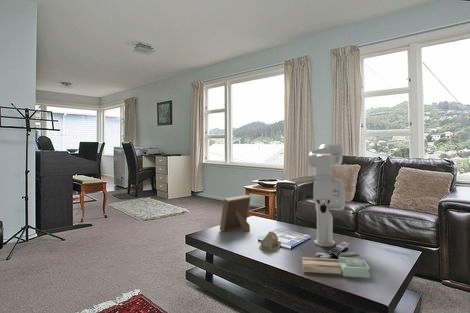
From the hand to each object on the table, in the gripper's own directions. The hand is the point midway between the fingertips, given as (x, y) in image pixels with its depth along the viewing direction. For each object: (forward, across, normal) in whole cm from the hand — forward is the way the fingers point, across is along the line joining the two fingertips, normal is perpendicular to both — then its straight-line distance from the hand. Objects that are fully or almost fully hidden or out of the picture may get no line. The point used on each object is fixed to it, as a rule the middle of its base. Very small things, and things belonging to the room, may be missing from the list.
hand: (323, 212), depth 147 cm
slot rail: (+27, +2, +8) cm, 28 cm away
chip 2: (+25, -15, +8) cm, 30 cm away
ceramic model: (+28, +29, -18) cm, 44 cm away
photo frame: (+27, +54, -48) cm, 78 cm away
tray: (+27, -14, +8) cm, 31 cm away
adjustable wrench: (+28, -9, -10) cm, 31 cm away
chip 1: (+25, -11, +8) cm, 28 cm away
